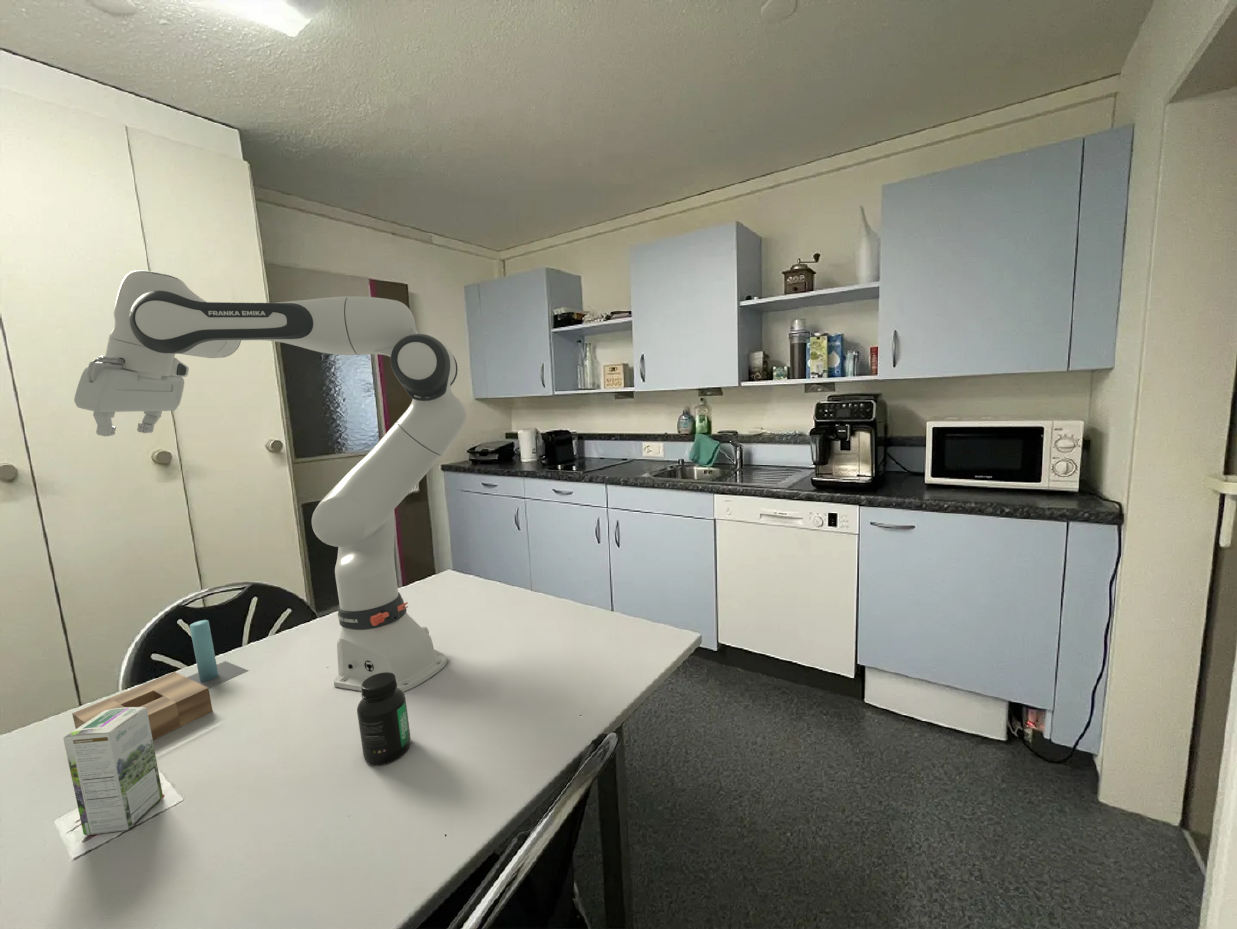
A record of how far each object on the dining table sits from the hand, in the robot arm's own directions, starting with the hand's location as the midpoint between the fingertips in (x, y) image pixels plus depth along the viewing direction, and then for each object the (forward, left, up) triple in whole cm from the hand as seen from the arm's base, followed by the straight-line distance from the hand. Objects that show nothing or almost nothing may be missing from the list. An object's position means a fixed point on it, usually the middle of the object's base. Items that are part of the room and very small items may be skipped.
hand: (125, 433), depth 91 cm
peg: (0, -5, -52) cm, 52 cm away
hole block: (-8, +7, -52) cm, 53 cm away
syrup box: (-32, +17, -52) cm, 63 cm away
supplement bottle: (-55, -7, -52) cm, 76 cm away
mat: (0, -5, -52) cm, 52 cm away
